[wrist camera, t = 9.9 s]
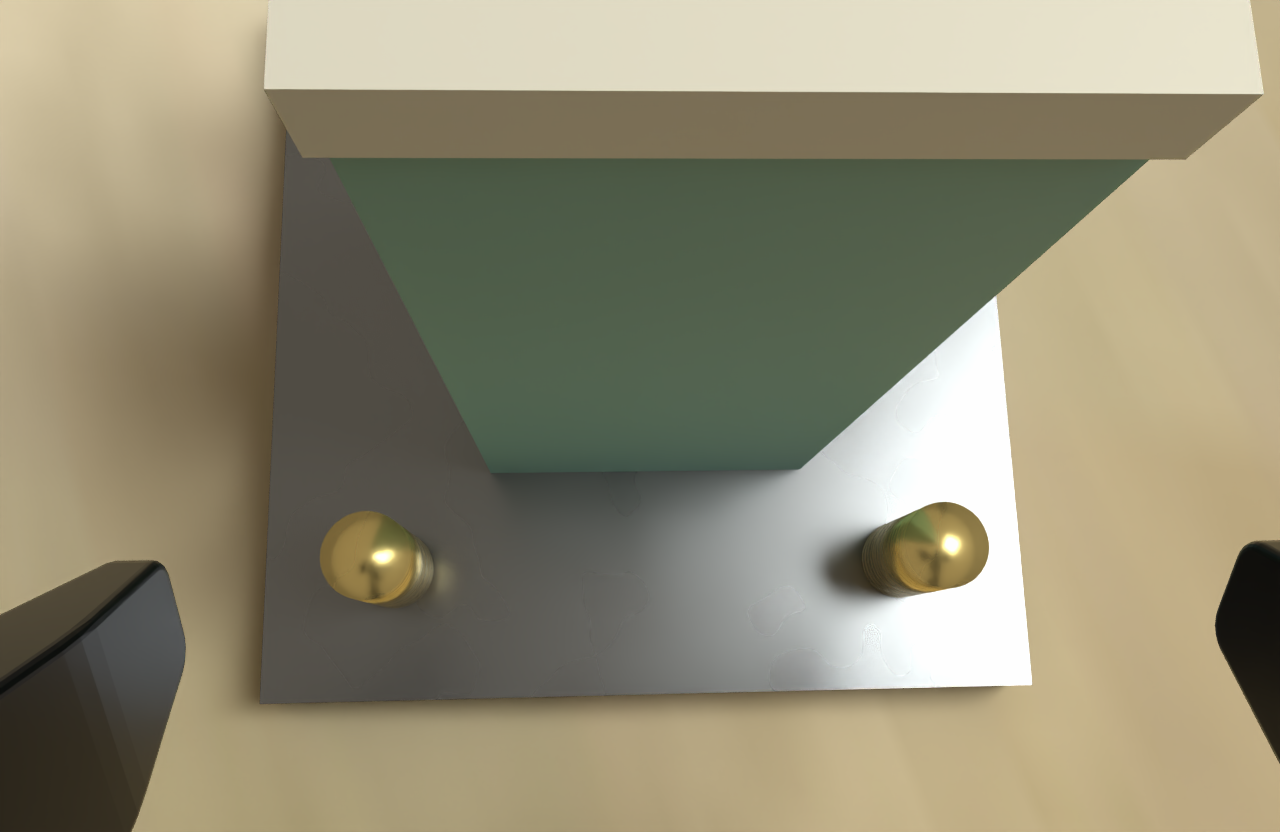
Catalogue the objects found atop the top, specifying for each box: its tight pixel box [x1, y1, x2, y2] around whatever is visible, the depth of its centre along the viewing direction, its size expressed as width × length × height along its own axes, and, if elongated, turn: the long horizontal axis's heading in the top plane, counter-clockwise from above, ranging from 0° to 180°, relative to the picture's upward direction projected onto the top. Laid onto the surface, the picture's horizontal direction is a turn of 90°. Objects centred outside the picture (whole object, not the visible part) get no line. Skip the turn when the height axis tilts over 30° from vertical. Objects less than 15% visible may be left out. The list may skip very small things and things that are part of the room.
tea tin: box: [264, 0, 1264, 473], centre depth 13 cm, size 5×5×13 cm
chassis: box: [260, 129, 1032, 704], centre depth 18 cm, size 12×12×4 cm
